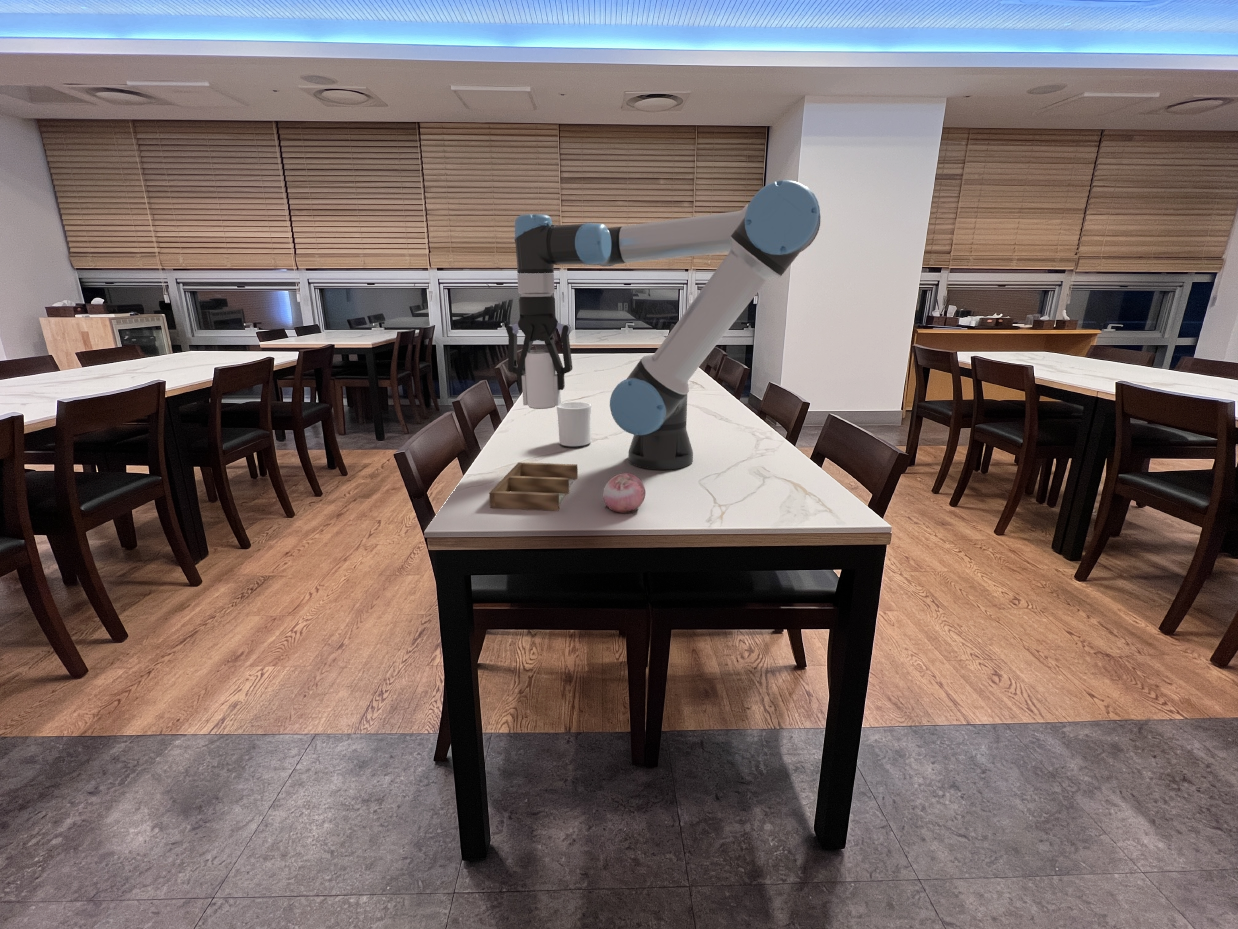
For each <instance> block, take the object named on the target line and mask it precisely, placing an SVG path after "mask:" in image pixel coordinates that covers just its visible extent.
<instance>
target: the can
mask: <svg viewBox="0 0 1238 929" xmlns="http://www.w3.org/2000/svg"><path fill="white" fill-rule="evenodd" d="M549 353H550V352H549V351H548V349H532V350H530V352H527V356H526V358H525V371H526V372H525V374H526V389H527V405H526V406H528V407H529V408H530V409H534V410H545V409H546V410H548V409H552V408H555V407H556V406H555V400H554V378H553V376H554V375H556V374H557V373H556V370H555V367H554V365H553V362H552V358H551V356H550V354H549Z"/></svg>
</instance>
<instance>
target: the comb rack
mask: <svg viewBox="0 0 1238 929" xmlns="http://www.w3.org/2000/svg"><path fill="white" fill-rule="evenodd" d="M578 471H579V470H578V464H574V463H572V464H571V463H570V464H569V463H549V462H548V463H547V462H546V463H545V462H544V463H543V462H541V463H540V462H517V463H516V464H515V465H514V466H513V467H512V468H511V469H510V470H509V471H508V473H506V475H504V477H503V478H501V480H500V481H499V482H498V483H497V484H496V485H495V486H494V487H493V488H492V489H491V490H490V491H488V494H489V507H490V509H491V508H492V509H511V510H512V509H513V510H534V511H535V510H536V511H559V510H560V504H561V502H562V501H563V499H564V497H565V496H566V494H567V495H569V493H570V487H571V486H572V485H573V483H574V480H577V479H578V477H579V474H578V473H579V472H578Z"/></svg>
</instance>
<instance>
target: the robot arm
mask: <svg viewBox="0 0 1238 929" xmlns="http://www.w3.org/2000/svg"><path fill="white" fill-rule="evenodd" d="M820 228H821V209H820V205H819V201H818V199H817V197H816V195H815V194H814V192H813V191H812V190H811V189H810V188H809V187H808V186H805V185H804V184H802V183H801V182H798V181H794V180H791V179H781V180H776V181H773V182H771V183H768V184H766V185H765V186H763V187H761V189H759V190H758V191H757V193H755V195H753V197H752V199H751V200H750V201H749V203H748V204H746V205H744V207H743V208H742V210H738V211H729V212H722V213H714V214H706V215H699V216H691V217H683V218H676V219H669V220H662V221H652V222H646V223H645V222H644V223H637V224H630V225H623V226H614V227H607V226H606V224H603V223H593V222H585V223H577V224H576V223H574V224H560V225H559V224H553V222H552V217H551V216H549V215H547V214H540V213H539V214H538V213H537V214H521V215H518V216H517V217H516V218H515V220H514V243H515V253H516V255H515V256H516V266H517V270H516V271H517V274H516V275H517V290H518V292H517V293H518V294H520V296H519V298H518V310H519V319H518V322H517V323H515V324H509V325H506V327H505V330H506V334H507V337H508V346H507V347H508V350H507V351H508V353H507V356H508V357H507V358H508V359H507V360H508V361H507V370H508V372H510V373H513V374H516V376H517V388H518V390H522V404H523V405H522V406H528V405H527V389H526V371H525V358H526V356H527V352H530V350H531V349H532V346H533V344H534V342H536V341H539V342H544V344H545V346H546V348H547V350H548V351H549V352H550V353H549V354H550V356H551V358H552V362H553V365H554V367H555V370H556V375H554V376H553V378H554V400H555V407H557V406H559V405H560V404H561V403H562V400H561V399H562V398H561V391H562V390H564V389H565V387H566V386H565V385H566V384H565V382H566V381H565V374H568V373H570V372H572V371H573V360H572V352H571V343H570V342H571V341H570V331H571V328H572V327H571V325H570V324H564V323H559V321H558V319H557V315H556V299H555V296H553V294H554V293H555V292H556V291H555V272H554V270H555V269H554V268H555V266H559V265H562V266H563V265H567V266H568V265H580V266H581V265H585V266H600V267H612V266H615V265H622V264H629V263H638V262H640V263H641V262H647V261H648V262H651V261H658V260H668V259H676V258H677V259H679V258H687V257H697V256H707V255H708V256H709V255H714V254H725V253H727V254H726V256H725V257H724V259H723V260H722V262H720V264H719V265H718V267H716V270H715V271H714V272H713V274H712V275H711V276H710V278H709V279H708V281H707V282H706V283H705V284H704V285H703V287H702V288H701V289H700V291H699V293H698V294H697V295H696V297H695V298H694V299H693V301H692V302H691V303H690V305H689V306H688V307H687V309H686V310H685V312H684V313H683V314H682V315H681V317H680V319H679V320H678V321H677V323H676V324H675V325H674V327H673V328H672V329H671V331H670V332H669V333H668V334H667V336H666V338H665V339H664V340H663V341H662V342H661V344H660V346H658V348H657V349H656V351H655V352H654V353H653V354H649V355H643V357H641V359H640V360H639V361H638V362H637V364H636V365H635V367H634V368H633V369H632V370H631V372H630V374H629V375H628V376H627V378H626V379H624V380H622V381H620V382H619V383H617V385H616V386H615V388H614V389H613V390H612V392H611V395H610V398H609V408H610V414H611V416H612V419H613V420H614V423H616V425H617V426H618V427H619V428H620V429H621V430H622V431H624V432H626V433H628V434H630V435H633V436H632V439H631V442H630V445H629V449H628V458H627V459H628V462H629V463H630V464H631V465H633V466H635V467H638V468H643V469H647V470H659V471H660V470H661V471H663V470H665V471H666V470H676V469H682V468H685V467H688V466H690V465H692V463H693V461H694V450H693V448H692V447H693V446H692V444H691V440H690V437H689V434H688V431H687V420H688V419H687V416H688V394H689V391H690V390H689V388H690V387H689V380H690V379H691V377H692V376H693V375H694V373H696V371H697V370H698V369H699V367H700V366H701V365H702V363H703V362H704V361H705V360H706V359H707V357H708V356H709V355H710V354H711V352H712V351H713V350H714V348H715V347H716V346H717V345H718V343H719V342H720V341H721V339H722V338H723V337H724V336H725V334H726V333H727V332H728V331H729V329H730V328H731V327H732V325H733V324H734V323H735V322H736V321H737V319H738V318H739V317H740V316H741V315H742V313H743V311H744V310H745V309H746V308H747V306H748V305H749V304H750V303H751V301H752V300H753V299H754V298H755V296H756V295H757V294H758V292H760V290H761V289H762V287H763V286H764V285H765V284H766V282H767V281H769V280H772V279H777V278H781V277H782V276H783V275H784V273H785V272H786V271H787V269H789V267H790V266H791V265H792V263H793V262H794V261H795V259H797V257H798V256H799V255H800V253H801V252H803V251H805V250H806V249H807V248H808V247H810V246H811V245H812V244H813V242H814V241H815V239H816V238H817V235H818V233H819V230H820ZM557 329H558V334H560V340H561V342H560V343H561V350H562V358H563V362H562V360H561V356H560V354H559V351H558V349H557V347H556V344H555V339H554V336H553V334H554V333H555V331H556V330H557ZM519 330H520V331H521V333H523V335H524V340H523V346H522V350H521V352H520V356H519V361H518V334H519V332H520V331H519Z"/></svg>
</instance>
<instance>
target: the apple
mask: <svg viewBox="0 0 1238 929" xmlns="http://www.w3.org/2000/svg"><path fill="white" fill-rule="evenodd" d="M646 492H647V491H646V488H645V486H644V483H643V482H642V481H641V479H639V477H638V476H636V475H634V474H632V473H628V472H624V473H620V474H617V475H615V476H613V477H612V478H611V479H609V480H608V481H607V483H606V484H605V486H604V489H603V493H602V497H603V501H604V503H605V506H604V509H607V510H611V511H612V512H614V513H615V512H616V513H618V514H619V513H620V514H626V513H627V514H633V513H635V512H636V511H637V510H638V509H640V507H641V505H642V504H643V502H644V501H645V498H646V495H647V494H646Z"/></svg>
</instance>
